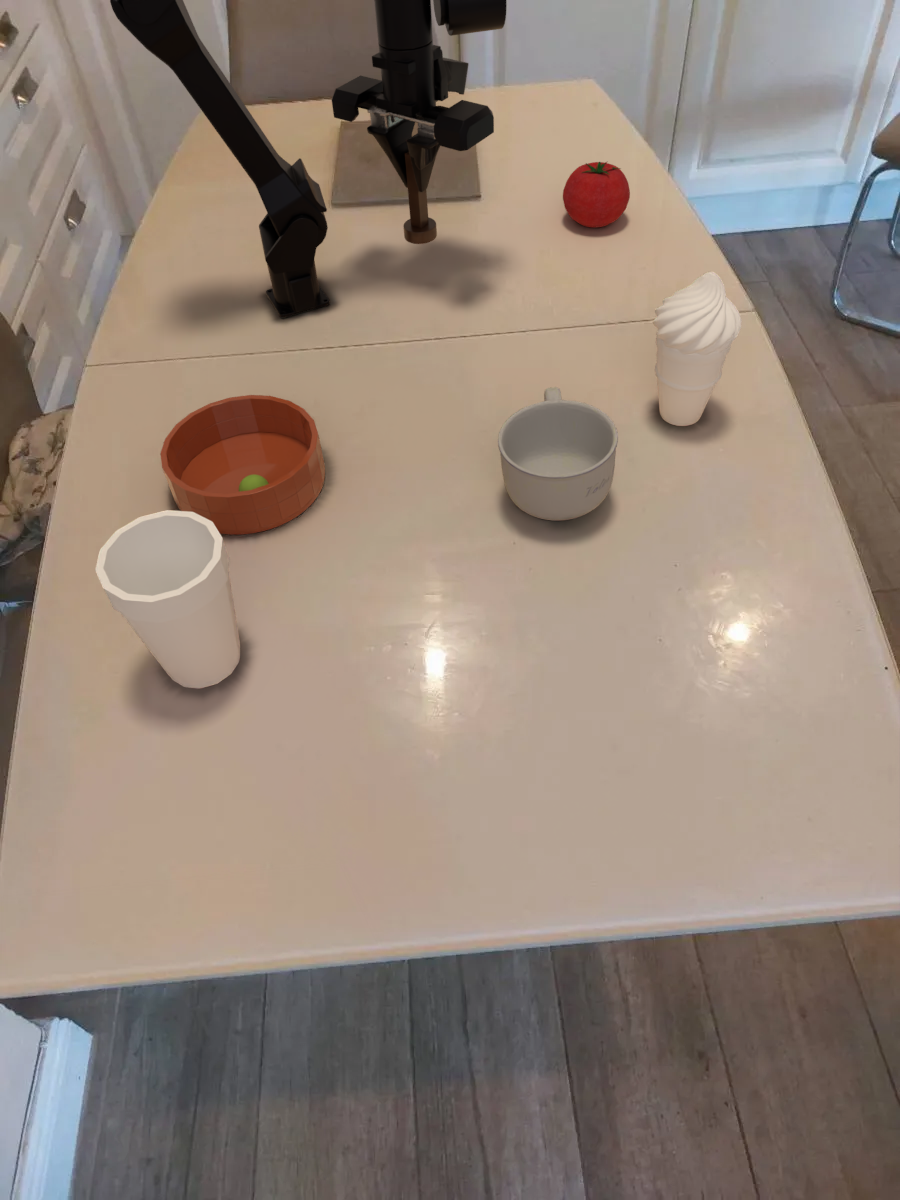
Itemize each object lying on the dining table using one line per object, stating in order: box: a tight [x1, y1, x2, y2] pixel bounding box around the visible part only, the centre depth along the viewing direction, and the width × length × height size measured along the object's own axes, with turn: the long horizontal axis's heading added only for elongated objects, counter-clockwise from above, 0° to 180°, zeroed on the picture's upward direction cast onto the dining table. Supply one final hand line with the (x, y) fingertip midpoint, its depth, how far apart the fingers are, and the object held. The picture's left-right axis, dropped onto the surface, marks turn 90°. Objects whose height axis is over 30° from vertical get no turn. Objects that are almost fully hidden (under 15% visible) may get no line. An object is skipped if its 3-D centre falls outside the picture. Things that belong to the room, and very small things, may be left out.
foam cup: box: [94, 509, 241, 689], centre depth 73 cm, size 10×9×13 cm
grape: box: [239, 475, 269, 492], centre depth 88 cm, size 3×3×3 cm
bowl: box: [159, 394, 326, 536], centre depth 90 cm, size 15×15×5 cm
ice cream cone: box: [652, 271, 742, 427], centre depth 90 cm, size 8×8×16 cm
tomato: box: [562, 161, 631, 228], centre depth 120 cm, size 9×9×8 cm
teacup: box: [497, 386, 619, 522], centre depth 87 cm, size 14×11×8 cm
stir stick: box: [402, 152, 438, 245], centre depth 108 cm, size 4×4×10 cm
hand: (416, 188), depth 107 cm, fingers closed on stir stick, 2 cm apart
